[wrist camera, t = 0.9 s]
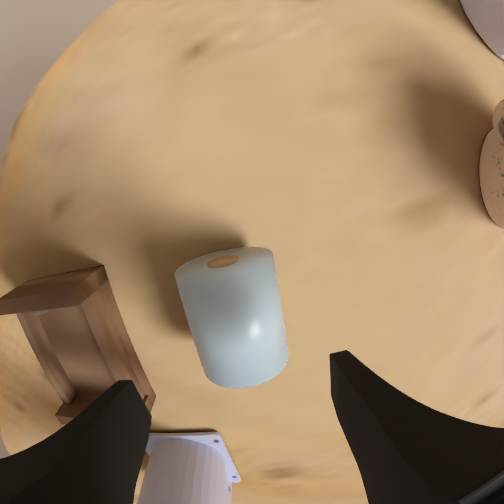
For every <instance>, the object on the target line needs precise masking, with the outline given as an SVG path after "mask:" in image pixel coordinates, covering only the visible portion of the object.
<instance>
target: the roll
mask: <svg viewBox="0 0 504 504" xmlns="http://www.w3.org/2000/svg"><path fill="white" fill-rule="evenodd" d="M174 276H175V280H176V283H177V287H178V290H179V294H180V297H181V301H182V304H183V308H184V311H185V314H186V318H187V321H188V324H189V327H190V330H191V334H192V337H193V340H194V343H195V346H196V349H197V352H198V355H199V358H200V361H201V364H202V366H203V369H204V372H205V375H206V376H207V378H208V379H209V380H210V381H212V382H213V383H215V384H217V385H220V386H223V387H228V388H247V387H252V386H256V385H259V384H262V383H265V382H267V381H269V380H271V379H272V378H274V377H275V376H277V375H278V374H279V373H280V372H281V371H282V370H283V369H284V368H285V366H286V364H287V363H288V359H289V352H288V345H287V338H286V332H285V325H284V319H283V312H282V306H281V299H280V293H279V287H278V281H277V275H276V268H275V262H274V256H273V253H272V251H271V250H269V249H266V248H261V247H239V248H232V249H226V250H221V251H216V252H212V253H209V254H205V255H202V256H199V257H197V258H194V259H192V260H190V261H188V262H186V263H184V264H183V265H181V266H180V267H179V268H177V270H176V271H175V273H174Z"/></svg>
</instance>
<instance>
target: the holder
mask: <svg viewBox="0 0 504 504" xmlns="http://www.w3.org/2000/svg"><path fill="white" fill-rule="evenodd" d="M15 313H16V314H17V316H18V319H19V321H20V323H21V326H22V328H23V330H24V332H25V335H26V337H27V339H28V341H29V343H30V345H31V347H32V349H33V351H34V353H35V355H36V357H37V359H38V361H39V363H40V364H41V366H42V368H43V370H44V372H45V373H46V375H47V377H48V379H49V380H50V382H51V384H52V385H53V387H54V389H55V390H56V392H57V394H58V395H59V397H60V398H61V400H62V401H63V404H62V406H61V407H60V409H59V410H58V412H57V413H56V415H55V416H56V417H57V418H58V420H59V421H60V422H61V424H67V423H69V422H70V421H71V420H72V419H74V418H75V417H76V416H77V415H79V414H80V413H81V412H82V411H83V410H84V409H86V408H87V407H88V406H89V405H90V404H91V403H92V402H94V401H95V400H96V399H97V398H98V397H99V396H100V395H101V394H102V393H104V392H105V391H106V390H107V389H108V388H109V387H110V386H112V385H113V384H114V383H115V382H117V381H118V380H132V381H133V383H134V384H135V386H136V388H137V390H138V392H139V394H140V396H141V398H142V400H143V401H144V403H145V405H146V407H147V409H148V410H149V412H151V410H152V407H153V404H154V401H155V398H156V395H155V393H154V391H153V389H152V387H151V385H150V383H149V381H148V379H147V377H146V375H145V372H144V370H143V368H142V366H141V364H140V361H139V359H138V357H137V355H136V352H135V350H134V348H133V345H132V343H131V340H130V338H129V336H128V333H127V331H126V328H125V326H124V323H123V320H122V318H121V315H120V312H119V310H118V307H117V304H116V301H115V298H114V295H113V293H112V290H111V287H110V284H109V281H108V277H107V274H106V271H105V268H104V265H101V266H97V267H92V268H87V269H82V270H77V271H73V272H68V273H63V274H58V275H54V276H49V277H44V278H40V279H35V280H31V281H26V282H24V283H23V284H21V285H20V286H18V287H16V288H15V289H13V290H12V291H10V292H9V293H7V294H6V295H4V296H2V297H1V298H0V315H6V314H15Z"/></svg>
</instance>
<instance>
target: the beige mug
mask: <svg viewBox="0 0 504 504" xmlns="http://www.w3.org/2000/svg"><path fill="white" fill-rule="evenodd" d="M503 117H504V99H503V100H502V101H500V102H499V103H498V105H497V106H496V108H495V111H494V113H493V118H492V122H493V127H494V128H493V129H492V130H491V131H490V132H489V133H488V135H487V137H486V139H485V141H484V143H483V147H482V150H481V156H480V166H479V176H480V187H481V193H482V197H483V201H484V204H485V207H486V209H487V211H488V213H489V215H490V217H491V218H492V220H493V221H494V222H495V223H496V224H497V225H498V226H499V227H501V228H503V229H504V119H503Z"/></svg>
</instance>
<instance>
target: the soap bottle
mask: <svg viewBox="0 0 504 504" xmlns="http://www.w3.org/2000/svg"><path fill="white" fill-rule="evenodd" d="M460 2H461V4H462V6H463V9H464V11H465V13H466V15H467V17H468V19H469V20H470V22H471V23H472V25H473V27H474V29H475V30H476V31H477V33H478V34H479V35H480V37H481V38H482V39H483V41H484V42H485V43H486V45H487V46H488V47H489V48H490V49H491V50H492V51H493V52H494V53H495V54H496V55H497V56H498V57H500V58H501V59H503V60H504V0H460Z"/></svg>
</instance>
